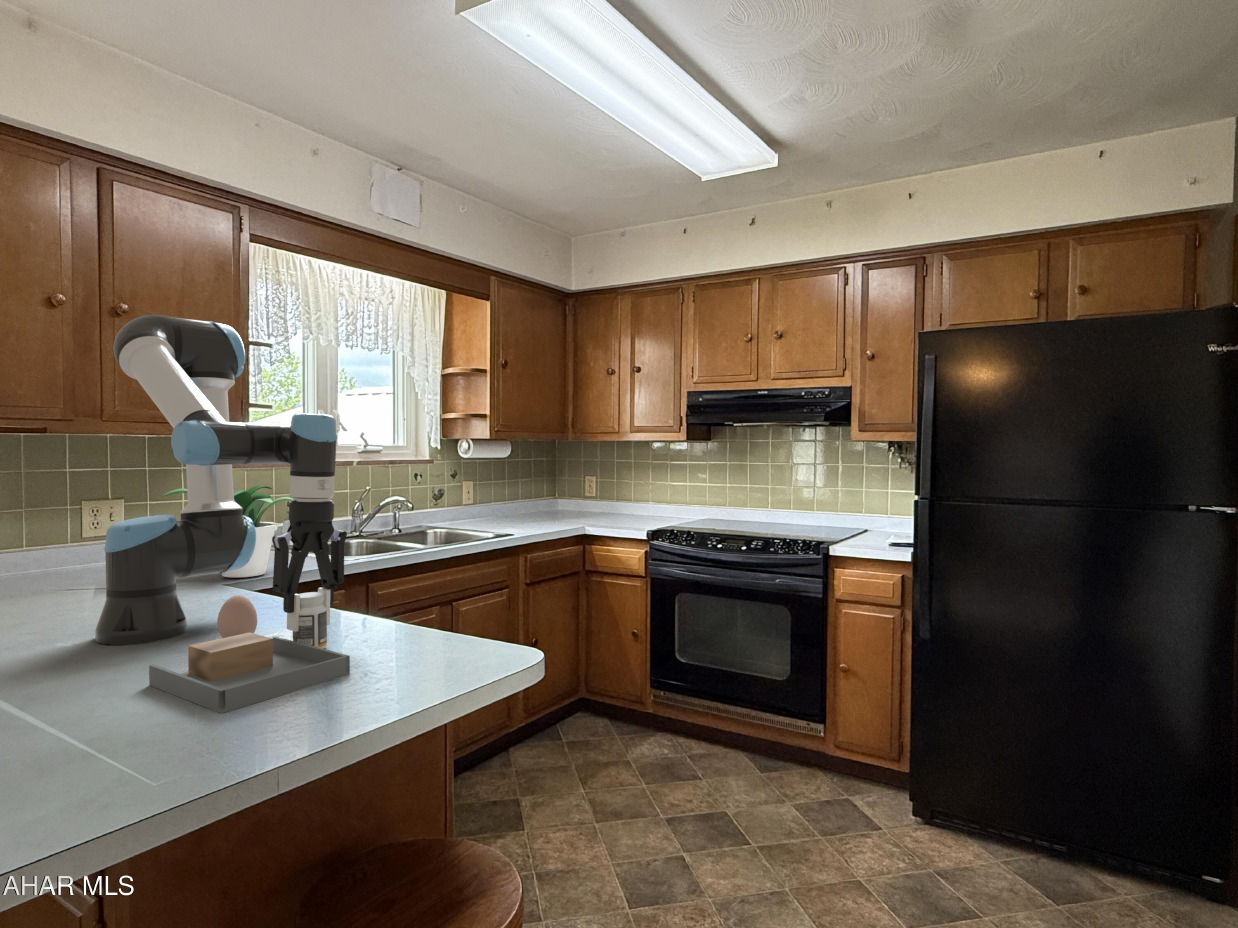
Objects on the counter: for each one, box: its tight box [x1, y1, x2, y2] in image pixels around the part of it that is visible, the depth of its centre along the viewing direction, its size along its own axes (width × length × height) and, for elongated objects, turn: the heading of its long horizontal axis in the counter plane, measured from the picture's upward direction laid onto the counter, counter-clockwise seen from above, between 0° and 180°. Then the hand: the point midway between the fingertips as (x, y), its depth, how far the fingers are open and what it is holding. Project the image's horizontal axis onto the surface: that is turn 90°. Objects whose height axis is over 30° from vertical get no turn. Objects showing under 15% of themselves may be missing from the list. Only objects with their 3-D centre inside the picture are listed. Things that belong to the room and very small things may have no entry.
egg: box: [216, 594, 258, 638], centre depth 136 cm, size 7×7×9 cm
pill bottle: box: [292, 591, 328, 649], centre depth 132 cm, size 6×6×10 cm
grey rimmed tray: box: [148, 636, 351, 714], centre depth 115 cm, size 21×21×3 cm
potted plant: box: [160, 484, 293, 578], centre depth 207 cm, size 32×35×26 cm
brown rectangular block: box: [187, 632, 273, 682], centre depth 118 cm, size 7×10×4 cm
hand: (308, 626), depth 132 cm, fingers closed on pill bottle, 5 cm apart
